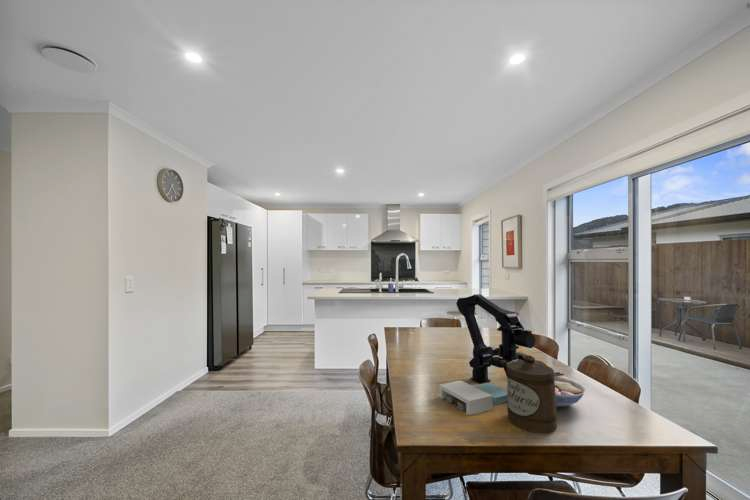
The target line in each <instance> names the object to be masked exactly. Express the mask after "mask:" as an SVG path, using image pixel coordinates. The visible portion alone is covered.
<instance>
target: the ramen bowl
mask: <svg viewBox="0 0 750 500" xmlns="http://www.w3.org/2000/svg"><path fill="white" fill-rule="evenodd" d="M562 376H565V374H564V373H561V372H560V371H556V372H554V382H555V396H556V408H559V407H567V406H571V405H574V404H577V403H578V402H579V401H580V400H581V399H582V397H583V396H584V394H585V392H586V390H587V389H586V388H585V386H584V385H582V384H581V383H579V382H577V381H574V380H572V379H569V378H566V377H562Z"/></svg>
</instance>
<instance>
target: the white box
mask: <svg viewBox="0 0 750 500" xmlns="http://www.w3.org/2000/svg"><path fill="white" fill-rule="evenodd" d="M438 385H439V386H438V388H439V392H438V393H439V398H440V399H445V401H446V402H447V403H449V404H453V403H454V398H455V399H458V400H459V401H457V409H459V410H461V411H463V412H465V413H466V415H468V416H473V415H476V414H480V413H485V412H489V411H492V410H493V409H494V408H493V407H494V406H493V405H494V404H493V403H492V395H490V394H488V393H486V392H484V391H482V390H480V389H478V388H475V387H476V386H474V385H471V384H469V383H467V382H465V381H463V380H456V381H451V382H445V383H440V384H438Z"/></svg>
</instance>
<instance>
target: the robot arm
mask: <svg viewBox="0 0 750 500" xmlns="http://www.w3.org/2000/svg"><path fill="white" fill-rule="evenodd" d="M476 306H478V307H480V308H482V309H483V310H484V311H486V312H487V313H489V314H490V315H491V316H493V318H494V319H495V320H496V323H498V324H499V325H500V326H499V327H498V328H496V330H497V331H498V332H501V344H499V346H498V347H495V346H487V345H486V344H485V341H484V339H483V338H484V337H483V336H482V333H481V330H480V327H479V323H478V321H477V317H476V315H475V312H476ZM456 308H457V310H458V311H459V313H460V314H461V315H462V316H463V317H464V320H465V324H466V326H467V329H468V333H469V336H470V338H471V341H472V344H473V348H472V356H473V357H472V359H470V360H469V362H468V363H469V367H470V368H472V370H471V371H472V372H471V373H472V377H470V380H472V381H474V382H476V383H478V384H483V383H489V382H491V379H489V373H488V372H489V370H488V369H489V368H490V367H491V366H493V367H496V368H500V369H502V368H503V370H504V373H505V375H506V377H507V364H508V363H510V362H517V360H523V361H524V362H525V360H524V357H525V356H527V355H528V354H525V353H523V352H517V350H518V349H520V347H523V348H527V349H533V348H534V347H535V345H536V338H535V337H536V336H535V335H534V334H533V333H532V330H530V329H525V327H524V326H523V325H522V324H523V323H521V321H520V320H519V317H518V315H517V314H516V313H515V312H512V311H510V310H507V309H504V308H502V307H500V306H498V305H497V304H495V303H494V302H492V301H491V300H489V299H488V298H486V297H485V296H484V295H483V294H481V293H479V294H473V295H470V296H467V297H466V296H465V297H459V298H458V299H457V301H456ZM519 346H520V347H519Z"/></svg>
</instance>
